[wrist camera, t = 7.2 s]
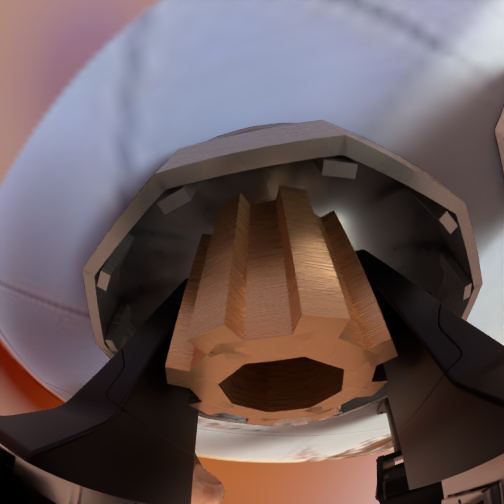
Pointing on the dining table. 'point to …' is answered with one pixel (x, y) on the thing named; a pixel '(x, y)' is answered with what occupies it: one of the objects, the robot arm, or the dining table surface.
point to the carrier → (265, 189)
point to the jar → (500, 137)
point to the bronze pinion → (277, 316)
